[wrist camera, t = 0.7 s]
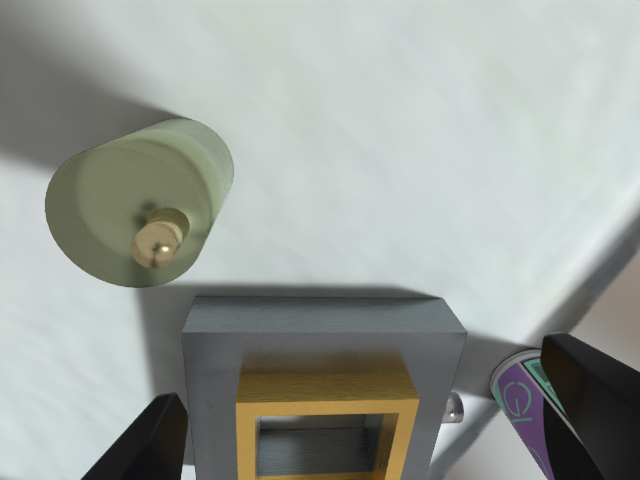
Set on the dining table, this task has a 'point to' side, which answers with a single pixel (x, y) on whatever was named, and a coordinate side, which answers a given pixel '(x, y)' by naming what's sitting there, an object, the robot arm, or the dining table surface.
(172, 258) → the spout can
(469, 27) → the dining table surface
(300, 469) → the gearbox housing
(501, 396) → the spray can
